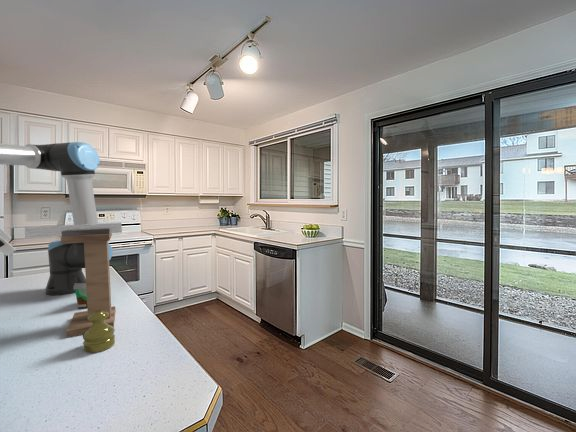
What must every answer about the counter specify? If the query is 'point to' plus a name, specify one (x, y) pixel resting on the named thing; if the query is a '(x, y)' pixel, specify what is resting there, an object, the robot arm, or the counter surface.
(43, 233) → the steel bar
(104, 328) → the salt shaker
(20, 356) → the counter surface
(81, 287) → the food container
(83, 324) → the walnut shelf
